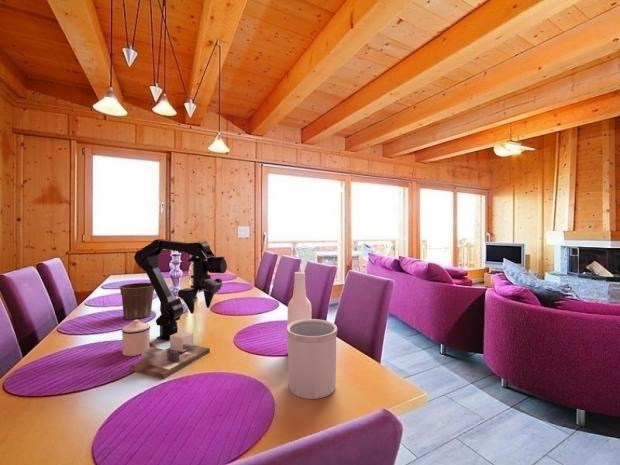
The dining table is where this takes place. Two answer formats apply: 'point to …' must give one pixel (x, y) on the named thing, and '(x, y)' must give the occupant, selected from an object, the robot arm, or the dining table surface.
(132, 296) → the plant pot
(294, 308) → the alcohol
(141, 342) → the cream canister
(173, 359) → the dark grey upright block
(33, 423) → the dining table surface
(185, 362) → the gauge board
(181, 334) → the pink rectangular block
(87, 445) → the dining table surface
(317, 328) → the utensil holder
